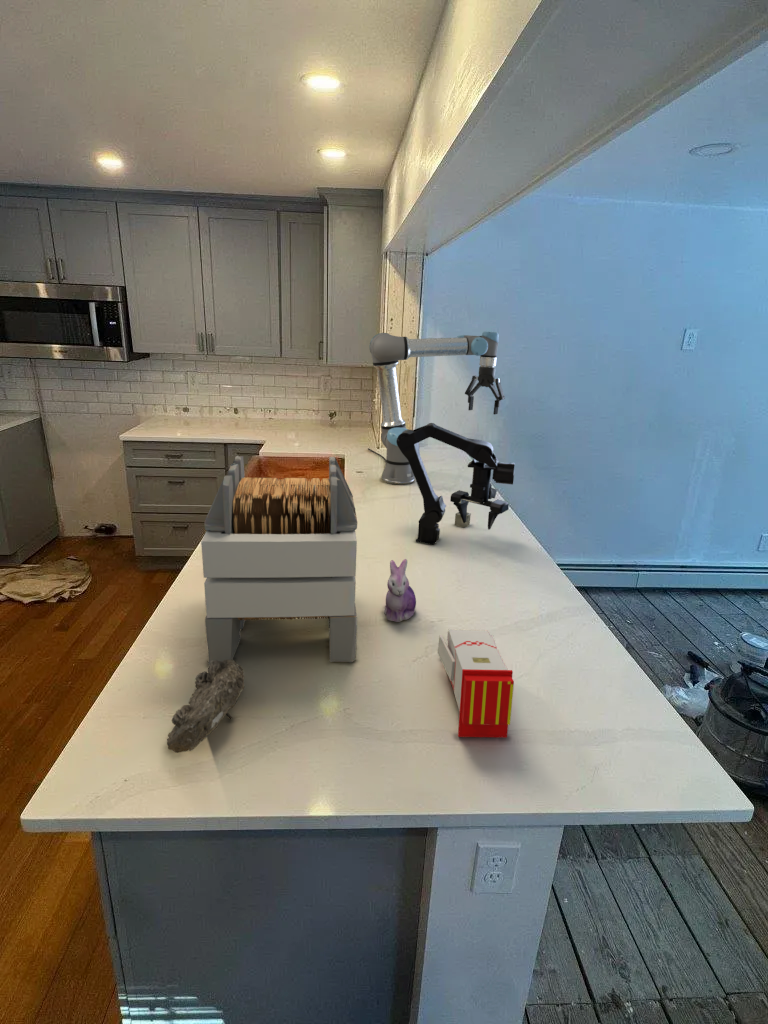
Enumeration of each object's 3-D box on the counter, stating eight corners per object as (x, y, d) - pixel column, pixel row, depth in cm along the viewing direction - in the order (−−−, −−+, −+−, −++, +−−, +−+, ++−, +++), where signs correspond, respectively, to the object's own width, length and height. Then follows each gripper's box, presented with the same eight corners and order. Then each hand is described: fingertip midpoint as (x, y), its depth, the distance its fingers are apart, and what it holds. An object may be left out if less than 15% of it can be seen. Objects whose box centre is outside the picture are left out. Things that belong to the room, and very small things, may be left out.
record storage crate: (228, 592, 154) (220, 446, 140) (349, 591, 158) (352, 448, 144) (205, 667, 122) (192, 487, 109) (356, 663, 126) (362, 488, 112)
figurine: (392, 627, 141) (395, 572, 136) (374, 608, 149) (376, 556, 144) (425, 619, 145) (429, 566, 140) (405, 601, 154) (408, 550, 149)
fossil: (192, 660, 117) (244, 628, 112) (224, 691, 120) (276, 661, 115) (142, 746, 98) (202, 712, 93) (182, 779, 101) (242, 748, 96)
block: (463, 528, 208) (464, 516, 206) (454, 525, 210) (455, 513, 209) (469, 525, 211) (470, 513, 210) (460, 522, 213) (461, 510, 212)
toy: (488, 613, 130) (523, 677, 101) (484, 667, 133) (517, 744, 104) (435, 612, 130) (455, 676, 101) (432, 666, 133) (451, 743, 103)
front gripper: (518, 481, 185) (512, 526, 190) (467, 470, 195) (463, 513, 200) (503, 489, 176) (498, 535, 182) (451, 477, 187) (447, 521, 192)
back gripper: (515, 368, 259) (510, 414, 266) (468, 363, 274) (464, 407, 281) (507, 369, 254) (502, 416, 261) (460, 364, 268) (456, 409, 275)
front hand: (476, 525), depth 189 cm, fingers open, 9 cm apart
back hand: (482, 412), depth 271 cm, fingers open, 13 cm apart
